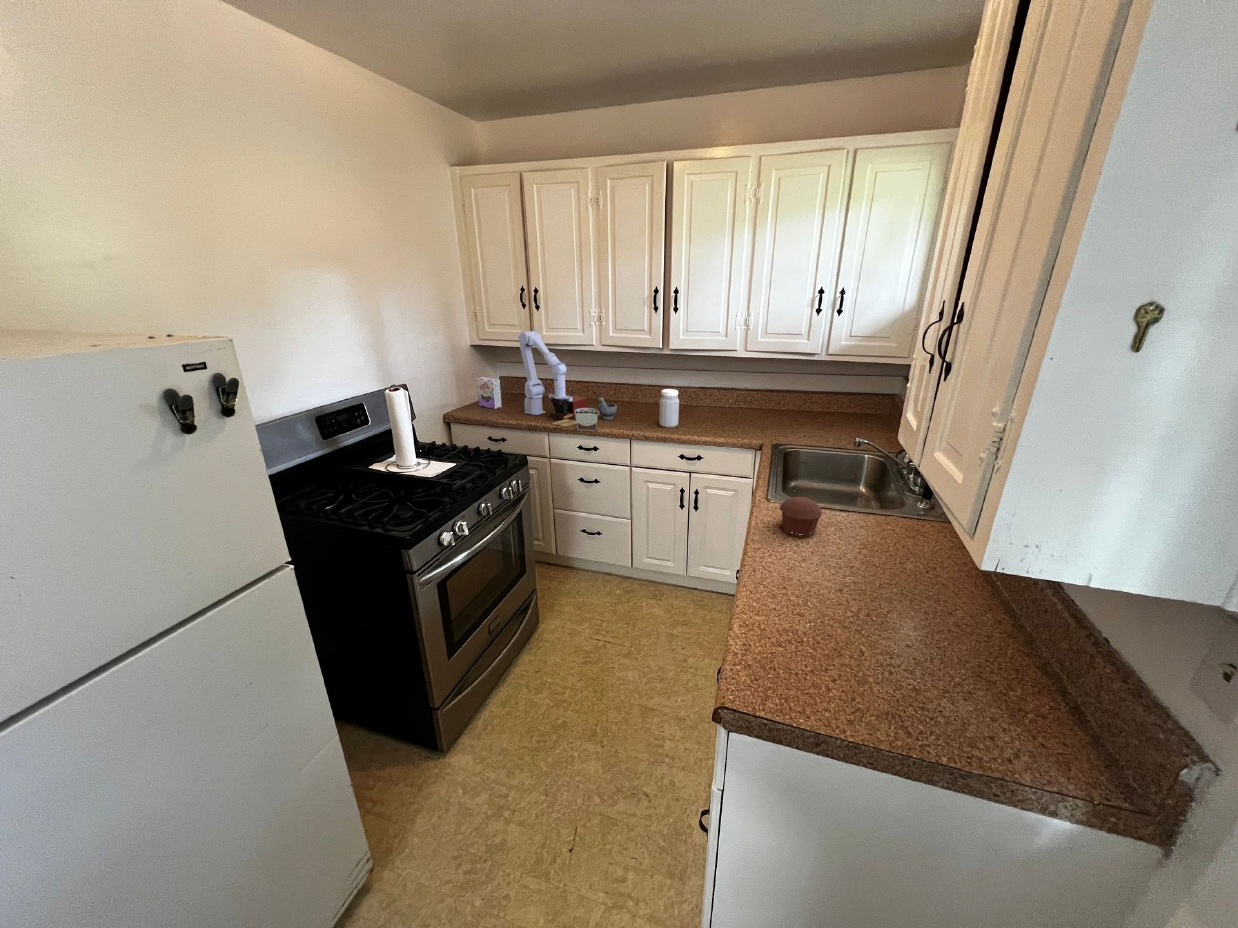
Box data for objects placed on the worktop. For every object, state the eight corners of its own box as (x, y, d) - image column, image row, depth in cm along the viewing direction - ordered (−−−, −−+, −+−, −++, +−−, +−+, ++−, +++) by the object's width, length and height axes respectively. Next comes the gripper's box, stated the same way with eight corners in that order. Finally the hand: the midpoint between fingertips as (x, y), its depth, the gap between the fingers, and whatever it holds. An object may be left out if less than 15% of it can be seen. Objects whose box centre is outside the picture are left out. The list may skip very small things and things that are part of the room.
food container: (601, 427, 241) (600, 407, 237) (599, 430, 235) (599, 411, 231) (576, 426, 242) (576, 407, 238) (574, 430, 236) (574, 410, 232)
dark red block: (558, 415, 261) (557, 399, 258) (571, 410, 271) (571, 395, 268) (574, 418, 256) (573, 401, 253) (587, 413, 265) (587, 397, 262)
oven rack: (548, 417, 253) (548, 412, 252) (564, 412, 263) (563, 407, 262) (561, 420, 249) (561, 415, 248) (576, 414, 259) (576, 409, 258)
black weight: (555, 416, 254) (554, 403, 252) (560, 414, 258) (560, 401, 255) (561, 417, 252) (561, 404, 250) (567, 415, 255) (566, 402, 253)
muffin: (815, 523, 146) (820, 493, 142) (821, 541, 135) (827, 510, 132) (775, 519, 148) (779, 490, 144) (778, 537, 138) (782, 505, 134)
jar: (675, 422, 249) (676, 388, 242) (680, 427, 240) (682, 392, 233) (656, 423, 247) (657, 388, 241) (661, 428, 238) (662, 393, 232)
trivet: (552, 424, 245) (552, 423, 245) (564, 419, 253) (564, 418, 253) (567, 427, 240) (567, 426, 240) (579, 422, 248) (579, 421, 248)
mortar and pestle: (607, 414, 263) (607, 393, 259) (620, 417, 257) (620, 395, 253) (593, 418, 255) (592, 396, 251) (606, 422, 249) (605, 399, 245)
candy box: (478, 406, 281) (475, 378, 275) (486, 404, 285) (483, 376, 279) (494, 409, 273) (491, 380, 267) (502, 407, 278) (499, 379, 272)
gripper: (544, 387, 250) (545, 412, 255) (565, 390, 243) (566, 416, 247) (553, 384, 256) (554, 409, 260) (574, 388, 248) (575, 413, 253)
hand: (561, 412), depth 254 cm, fingers open, 5 cm apart
